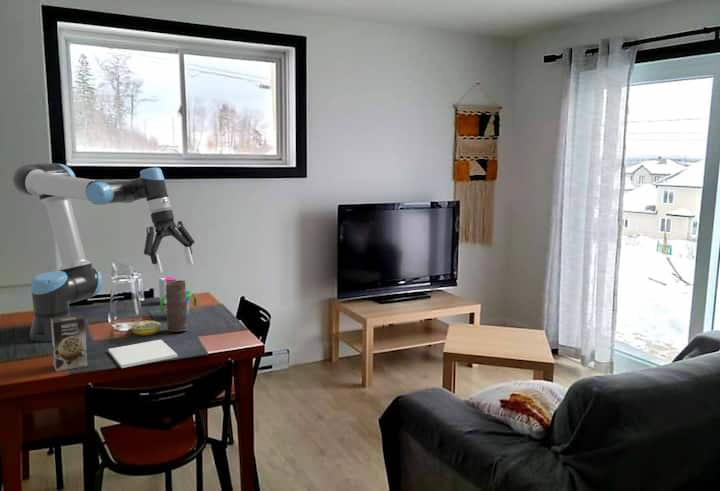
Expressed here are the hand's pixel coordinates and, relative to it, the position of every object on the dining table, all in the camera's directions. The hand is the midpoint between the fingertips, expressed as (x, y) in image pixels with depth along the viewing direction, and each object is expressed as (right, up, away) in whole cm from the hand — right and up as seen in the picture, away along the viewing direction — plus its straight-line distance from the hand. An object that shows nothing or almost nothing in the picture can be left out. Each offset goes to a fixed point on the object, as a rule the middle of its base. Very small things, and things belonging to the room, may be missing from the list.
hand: (175, 268), depth 202 cm
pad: (-8, -29, -10) cm, 32 cm away
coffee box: (-27, -31, -21) cm, 46 cm away
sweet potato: (-4, -25, +15) cm, 30 cm away
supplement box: (-21, -18, +55) cm, 62 cm away
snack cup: (-10, -22, +34) cm, 42 cm away
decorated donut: (-16, -25, +14) cm, 33 cm away
